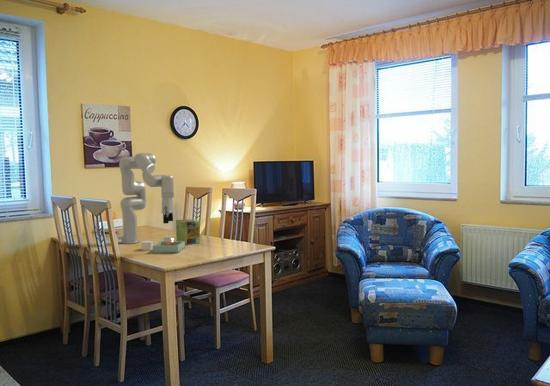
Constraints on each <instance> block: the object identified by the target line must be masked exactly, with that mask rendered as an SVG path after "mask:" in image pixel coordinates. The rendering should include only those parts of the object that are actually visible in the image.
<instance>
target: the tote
mask: <svg viewBox="0 0 550 386" xmlns="http://www.w3.org/2000/svg"><path fill="white" fill-rule="evenodd" d="M185 249H186V245H185V241H176V240H174V246H164V240H160V241H159V242H157V243H155V244H154V245H153V249H152V254H179V253H180V252H182V251H183V250H185ZM181 250H182V251H181Z"/></svg>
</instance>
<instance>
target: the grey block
mask: <svg viewBox="0 0 550 386" xmlns="http://www.w3.org/2000/svg"><path fill="white" fill-rule="evenodd" d="M140 244H141V251H153V245H155V244H154V240H144V241H142V242H140Z"/></svg>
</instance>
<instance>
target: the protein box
mask: <svg viewBox="0 0 550 386" xmlns="http://www.w3.org/2000/svg"><path fill="white" fill-rule="evenodd" d="M200 225H201V223H200V220H196V219H190V218H187V219H186V218H185V219H176V220H175V234H176V235H175V241H185V246H191V245H196V244H200V243H201V226H200Z"/></svg>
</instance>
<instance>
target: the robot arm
mask: <svg viewBox="0 0 550 386" xmlns="http://www.w3.org/2000/svg"><path fill="white" fill-rule="evenodd" d="M156 161H157V159H156V155H154V154H153V153H150V152H142V153H141V152H140V153H136V154H135V155H134V156H125V157H122V158H121V159H120V161H119V165H118V166H119V171H120V175H121V190H122V194H123V195H124V196H129V197H123V198H122V199H121V200H120V209H121V215H122V218H121V219H122V236H117V240H121V241H120V243H121V244H122V245H123V244H125V245H129V244H132V245H133V244H138V243H141V242H140V241H141V240H140V239H138V216H137V215H136V213H135V211H142V210H144V209H145V208H146V205H147V196H146V195H147V194H146V193H147V192H146V190H147V189H146V186H145V184H146V185H147V186H148V187H150V188H160V190H161V191H160V192H161V214H162V218H163V220H162V222H163V224H169V223H170V222H173V221H174V213H173V212H174V200H173V198H174V197H175V196H174V195H175V192H174V191H175V190H174V189H175V188H174V184H175V183H174V176H173V175H167V174H153V173H154V172H155V170H156V166H155V164H156V163H157V162H156ZM132 170H141V171H142V172H141V173H142V174H141V175H142V179H143V181H144V182H143V181H141V180H140V181H139V180H135V173H134V172H133V171H132ZM152 174H153V175H152ZM134 195H135V196H134Z"/></svg>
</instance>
